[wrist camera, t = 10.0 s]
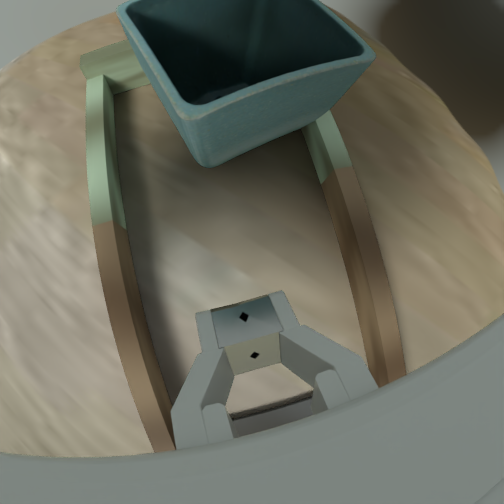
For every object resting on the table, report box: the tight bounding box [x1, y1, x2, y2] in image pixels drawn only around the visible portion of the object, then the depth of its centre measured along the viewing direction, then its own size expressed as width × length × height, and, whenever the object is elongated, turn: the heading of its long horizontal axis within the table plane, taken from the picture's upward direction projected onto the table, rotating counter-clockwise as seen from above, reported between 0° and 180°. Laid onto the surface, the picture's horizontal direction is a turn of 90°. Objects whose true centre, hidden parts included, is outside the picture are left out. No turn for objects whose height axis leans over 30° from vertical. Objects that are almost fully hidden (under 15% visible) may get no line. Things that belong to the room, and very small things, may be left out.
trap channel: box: [80, 39, 406, 453], centre depth 15 cm, size 36×14×4 cm, turn 15°
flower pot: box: [116, 0, 376, 168], centre depth 14 cm, size 9×9×9 cm
